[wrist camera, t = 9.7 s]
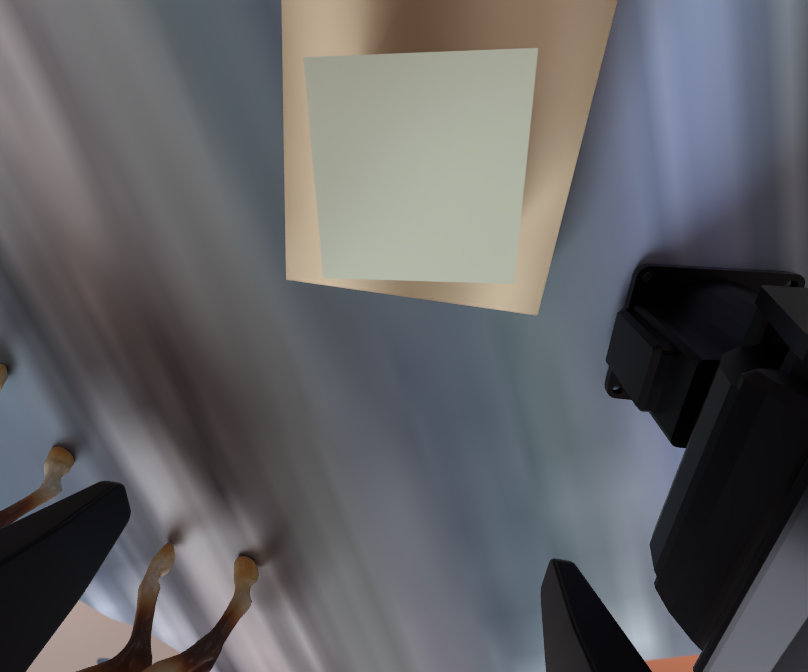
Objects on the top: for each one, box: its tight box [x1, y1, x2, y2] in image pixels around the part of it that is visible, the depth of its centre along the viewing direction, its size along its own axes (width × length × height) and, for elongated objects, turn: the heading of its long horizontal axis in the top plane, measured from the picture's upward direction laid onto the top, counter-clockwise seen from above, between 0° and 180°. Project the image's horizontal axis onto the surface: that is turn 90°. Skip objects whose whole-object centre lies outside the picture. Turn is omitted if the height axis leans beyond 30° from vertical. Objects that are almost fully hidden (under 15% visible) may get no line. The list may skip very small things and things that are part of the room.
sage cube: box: [303, 48, 538, 284], centre depth 12 cm, size 5×5×5 cm
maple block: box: [282, 0, 618, 315], centre depth 16 cm, size 10×10×4 cm
